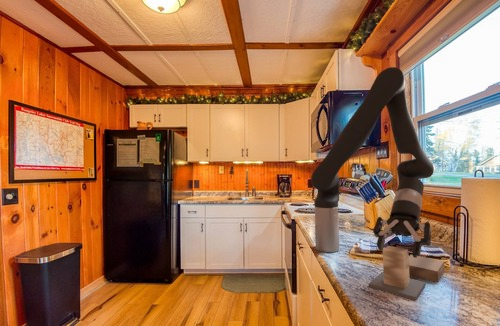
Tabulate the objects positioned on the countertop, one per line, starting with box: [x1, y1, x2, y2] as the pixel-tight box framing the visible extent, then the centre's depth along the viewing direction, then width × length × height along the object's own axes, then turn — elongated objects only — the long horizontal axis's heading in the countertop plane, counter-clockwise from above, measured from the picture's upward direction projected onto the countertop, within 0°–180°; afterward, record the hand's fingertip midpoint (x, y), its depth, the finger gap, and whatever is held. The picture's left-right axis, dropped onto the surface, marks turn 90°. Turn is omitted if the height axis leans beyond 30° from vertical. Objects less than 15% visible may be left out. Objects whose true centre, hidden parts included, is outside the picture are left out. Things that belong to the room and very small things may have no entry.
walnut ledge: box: [409, 254, 445, 283], centre depth 78 cm, size 9×11×3 cm
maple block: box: [382, 245, 411, 289], centre depth 69 cm, size 5×5×9 cm
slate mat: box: [368, 271, 427, 301], centre depth 69 cm, size 11×11×1 cm
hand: (396, 252), depth 70 cm, fingers open, 8 cm apart
